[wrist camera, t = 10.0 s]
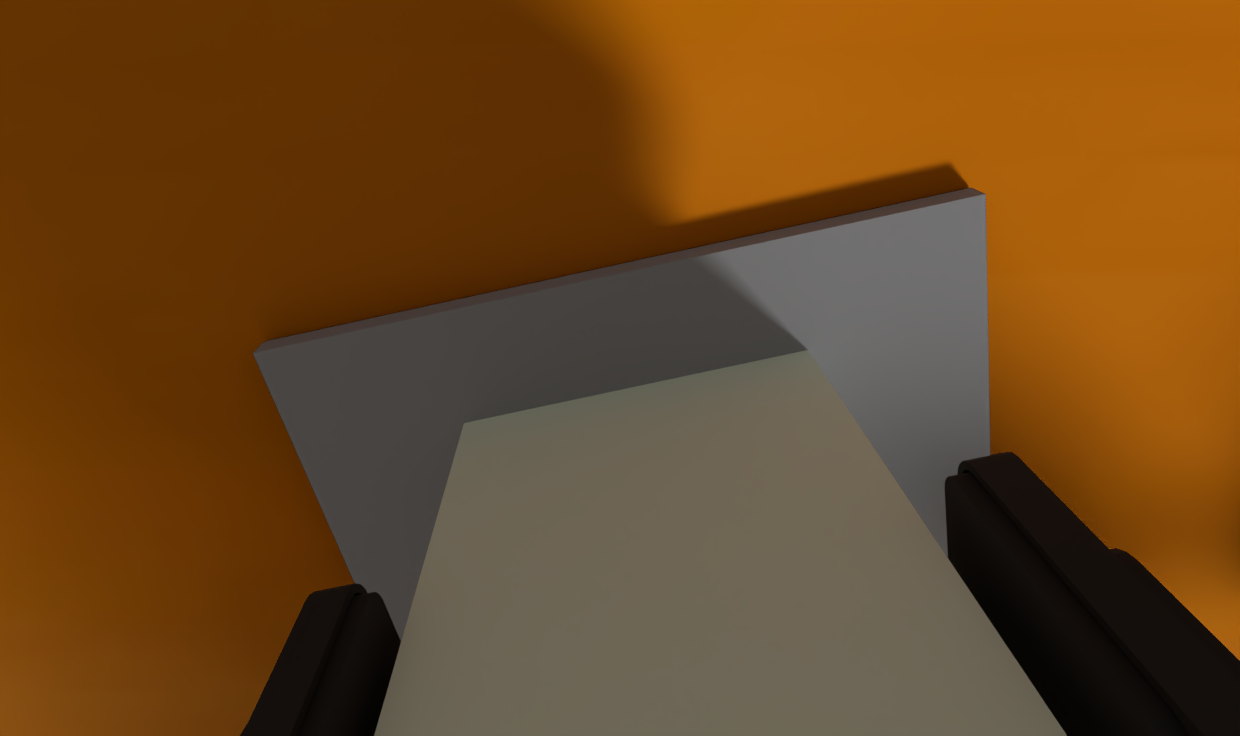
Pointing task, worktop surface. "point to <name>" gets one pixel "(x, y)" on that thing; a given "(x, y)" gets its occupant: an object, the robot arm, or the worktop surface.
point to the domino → (694, 578)
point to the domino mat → (648, 362)
